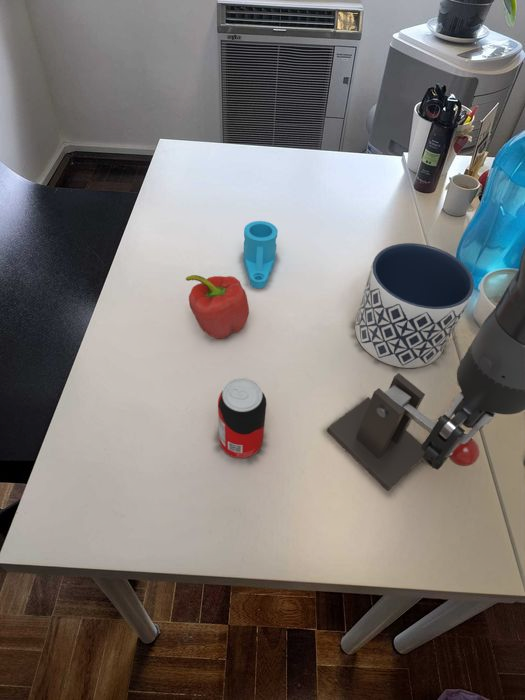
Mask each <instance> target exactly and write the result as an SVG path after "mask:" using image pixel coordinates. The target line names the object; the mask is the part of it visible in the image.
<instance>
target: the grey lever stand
mask: <svg viewBox="0 0 525 700" xmlns="http://www.w3.org/2000/svg"><path fill="white" fill-rule="evenodd" d="M394 385H395V386H397V387H398V388H399V389H401V390H402V391H404V392H405V393H406V394H408V395H409V396H411V400H410V403H409V404H410V405H411V406H413V407H414V408H415V409H417V410H418V409H419V408H420V406H421V404H422V401H423V400H424V397H425V396H426V393H424V392H423V391H422V390H421V389H420V388H418V387H417V386H416V385H414V384H413V383H412V382H411V381H409V380H408V379H407V378H405V376H404V375H402V374H401V373H400V372H398V373H397V374H395V375H394V376H393V378H392V381H391V382H390V385H389V387H388V389H390V388H391V387H392V386H394ZM404 412H405V410H404V409H403V408H402V407H401V406H400V405H398V404H397V403H396V402H395V401H394V400H393V399H391V398H390V397H389V396H388V395H387V394H385V392H384V391H383V390H382V389H381V388H379V387H378V388H377V389H376V390H374V391H373V393H372V396H371V397H366V398H365V399H364V400H362V401H361V402H360V403H359V404H357V405H355V406H354V407H353V408H352V409H351V410H349V411H348V412H346V413H345V414H344V415H343V416H341V417H340V418H339V419H337V420H336V421H335V422H333V423H332V424H331V425H329V426H328V427H327V430H326V432H327V433H328V434H329V435H330V436H331V438H333V439H334V440H335V442H337V443H338V444H339V445H340V446H341V447H342V448H343V449H344V450H345V451H346V452H347V453H348V454H349V455H350V456H351V457H352V458H353V459H354V460H355V461H356V462H357V463H358V464H359V465H360V466H361V467H362V468H363V469H365V471H367V473H369V475H370V476H372V477H373V479H375V480H376V481H377V482H378V483H379V484H380V485H381V486H382V487H383V488H384V489H385V490H386V491H387V492H388V491H389V490H391V489H392V488H393V487H394V486H395V485H396V484H397V483H398V482H400V481H401V480H402V479H403V478H404V477H405V476H406V475H408V473H409V472H410V471H411V470H413V469H414V468H415V467H416V466H417V465H418V464H419V463H420V462H421V461H422V460H424V458H423V455H424V453H425V452H424V451H423V450H422V449H421V446H422V444H423V443H421V442H420V441H419V440H418V439H417V438H416V437H415V436H414V435H412V434H411V433H410V432H409V431H408V430H407V429H409V425H410V424H411V422H412V421H413V420H412V419H410V418H409V417H408V416H406V415H405V414H404Z"/></svg>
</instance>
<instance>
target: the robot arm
mask: <svg viewBox="0 0 525 700" xmlns="http://www.w3.org/2000/svg"><path fill="white" fill-rule="evenodd" d="M456 381H457V384H458V386H459V388H460V390H461V391H460V392H459V393H458V394H457V396H456V397H455V398H454V399H453V402H452V404H453V405H451V407H450V408H449V409H448V410H447V411H446V412H445V413H444V414H442V415H440V416H439V417H438V418H437V421H436V422H435V423H436V424H435V426H434V428H433V429H432V431H431V432H430V433H429V434H428V436H427V437H426V439H425V440H424V441H423V442H422V443H421V444H422V446H421V449H422V450H423V451H424V452H425V453H424V455H423V461H424V462H425V463H426V464H427V465H429V466H430V467H431V468H432V469H434V470H436V471H437V470H440V468H442V467H443V466H444V464H445V463H446V461H447V460H448V459H449V456H451V455H452V454H453V451H454V450H455V449H456V448H457V447H458V446H459V444H460V443H461V444H465V443H467V442H469V441H470V440H471V438H472V439H473V438H474V436H475V435H476V434H477V433H478V432H479V431H481V430H482V429H483V428H484V427H485V426H487V425H488V424H489V423H490V422H491V421H492V420H493V419H494V418H495V416H496V415H497V414H499V415H515V414H519V413H522V412H524V411H525V245H523V250H522V253H521V257H520V260H519V265H518V270H517V271H516V273H515V275H514V276H513V277H512V279H511V280H510V282H509V283H508V286H507V288H506V289H505V291H504V292H503V294H502V296H501V298H500V299H499V301H498V302H497V304H496V306H495V307H494V309H493V310H492V311H491V312H490V313H489V315H488V316H487V317H486V319H485V320H484V321H483V322H482V324H481V326H480V328H479V330H478V331H477V333H476V335H475V337H474V338H473V340H472V342H471V344H470V345H469V347H468V348H467V350H466V352H465V353H464V355H463V357H462V359H461V361H460V362H459V365H458V367H457V370H456ZM462 425H463V427H464V428H467V429H470V430H469V431H468V432H467V433H465V432H466V430H465V429H464V428H462V427H461V426H462Z"/></svg>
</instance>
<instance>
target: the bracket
mask: <svg viewBox="0 0 525 700" xmlns="http://www.w3.org/2000/svg"><path fill="white" fill-rule="evenodd" d="M243 238H244V241H243V259H242V260H243V264H244V267H245V271H246V274H247V277H248V281H249V285H250V286H251V287H252V288H254V289H262V288H265V287H266V286H267V285H268V281H269V279H270V276H271V274H272V272H273V269H274V266H275V263H276V254H277V253H276V252H277V238H278V228H277V227H276V225H275V224H273V223H271V222H269V221H265V220H264V221H263V220H254V221H252V222H249V223H247V224H246V225H245V226H244V228H243Z"/></svg>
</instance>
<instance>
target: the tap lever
mask: <svg viewBox="0 0 525 700" xmlns="http://www.w3.org/2000/svg"><path fill="white" fill-rule="evenodd" d="M384 393H385V394H387V395H388V396H389V397H390V398H391V399H393V400H394V401H395V402H396V403H397V404H398V405H400V406H401V407H402V408H403V409H404V410H405V412H404V414H405V415H406V416H408V417H409V418H410V419H412V420H411V421H413V422H414V423H415V424H417V425H418V426H419V427H421V428H422V429H424V430H425V432H428V433H429V434H430V432H431V431H432V429H433V428H434V426H435V424H436V423H437V422H435V421H433V420H432V419H431V418H429V417H428V416H426V415H425V414H424V413H422V411H421V410H418V409H415V408H414V407H413V406H411V405H410V404H409V403H410V400H411V396H409V395H408V394H406V393H405V392H404V391H402V390H401V389H399V388H398V387H397V386H395V385H394V386H392V387H391V388H390V389H389V388H388V389H387V390H386V391H385V392H384ZM479 458H480V446H479V444H478V443H477V442H476V440H474V438H473V437H472V438H471V440H470V441H469V442H467V443H465V444H461V443H460V444H459V446H458V447H457V448H456V449H455V450H454V451H453V454H452V455H451V456H449V457H448V459H449V460H450V461H451V462H452V463H454V464H455V465H457V466H460V467H468V466H472V465H474V464H475V463H476V462H477V461H478V459H479Z"/></svg>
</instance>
